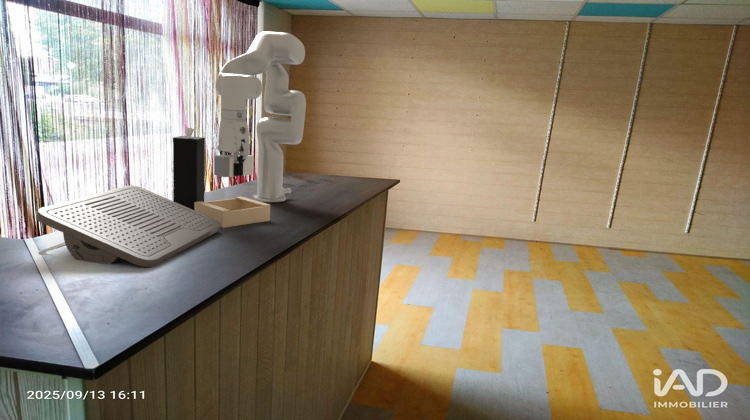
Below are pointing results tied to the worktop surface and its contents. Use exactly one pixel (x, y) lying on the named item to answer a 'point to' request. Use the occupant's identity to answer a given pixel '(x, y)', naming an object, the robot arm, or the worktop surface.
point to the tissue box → (188, 169)
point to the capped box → (231, 165)
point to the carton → (234, 211)
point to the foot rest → (126, 226)
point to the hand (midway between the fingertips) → (232, 173)
